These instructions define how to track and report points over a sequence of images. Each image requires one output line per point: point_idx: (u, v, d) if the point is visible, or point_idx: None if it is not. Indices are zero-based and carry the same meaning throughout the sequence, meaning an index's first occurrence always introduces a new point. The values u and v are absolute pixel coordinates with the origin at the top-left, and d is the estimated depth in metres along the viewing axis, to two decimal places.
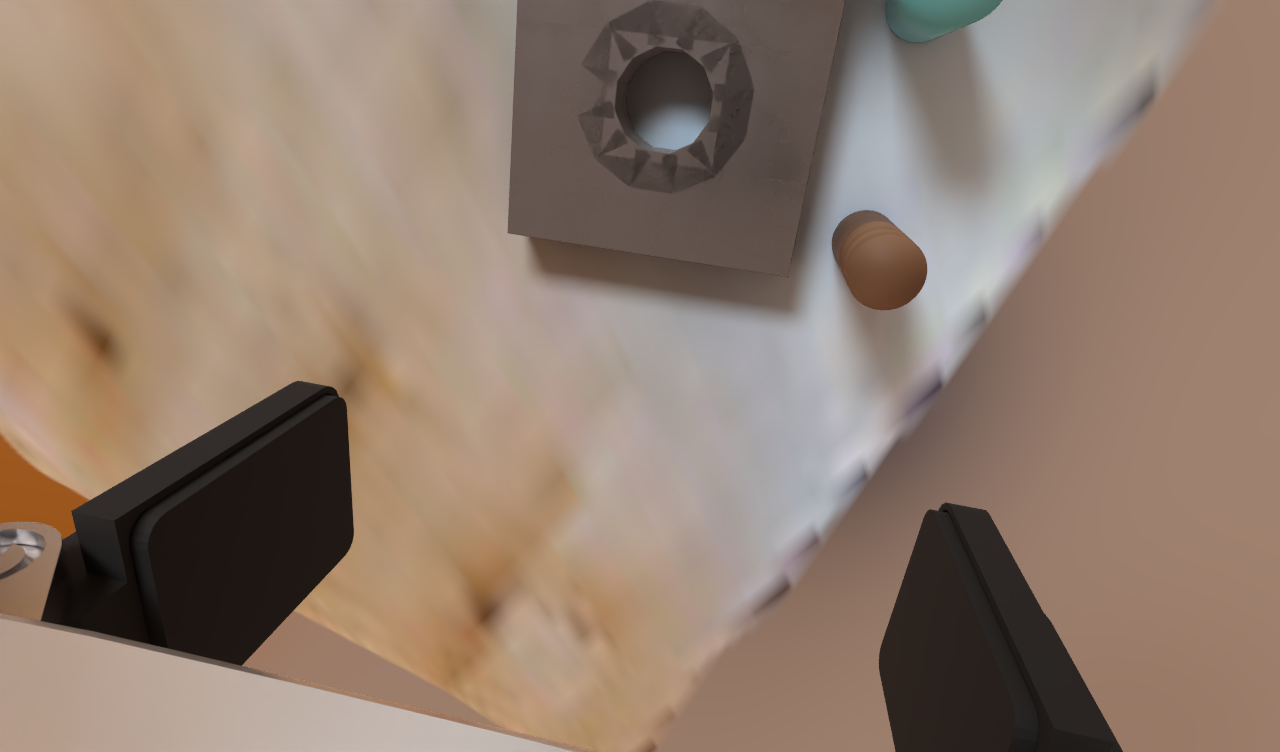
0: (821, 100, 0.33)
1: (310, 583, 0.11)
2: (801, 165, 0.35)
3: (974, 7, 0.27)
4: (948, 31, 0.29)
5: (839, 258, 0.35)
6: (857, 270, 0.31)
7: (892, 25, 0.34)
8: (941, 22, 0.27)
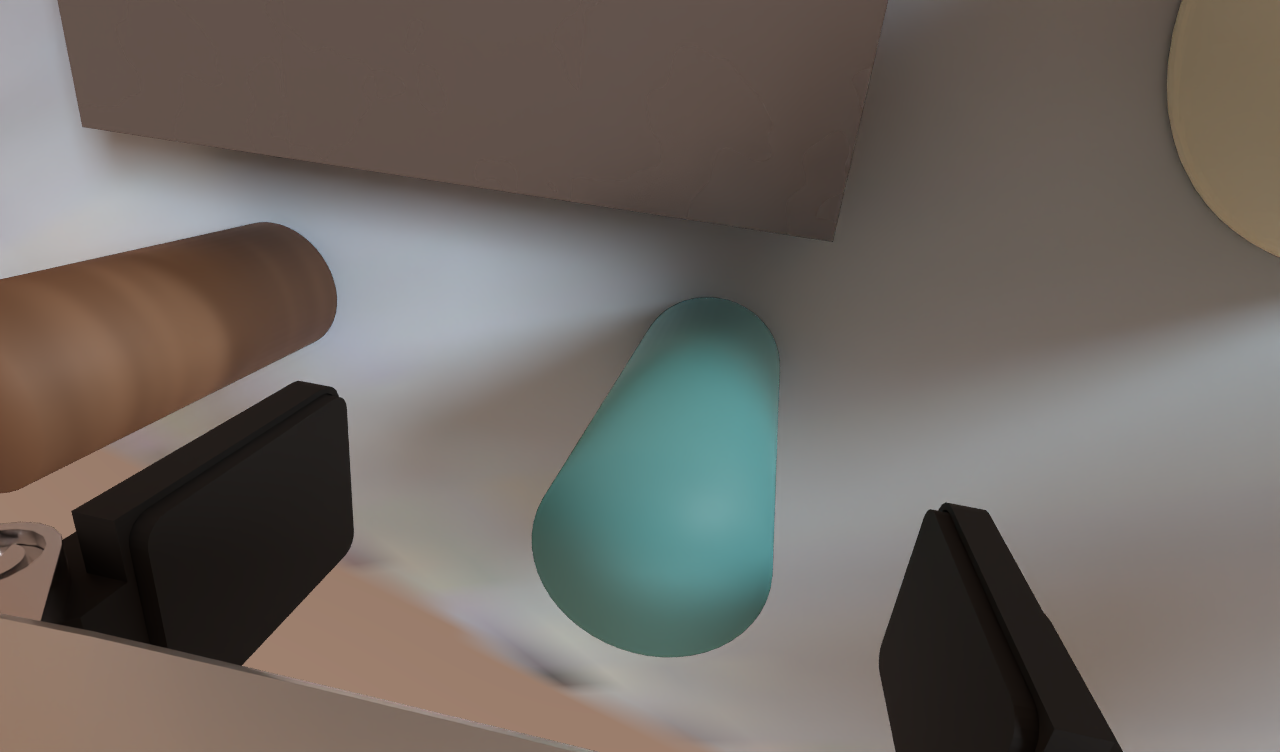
0: (471, 179, 0.13)
1: (310, 583, 0.11)
2: (325, 140, 0.14)
3: (574, 580, 0.10)
4: None
5: (115, 255, 0.14)
6: None
7: (664, 316, 0.16)
8: (540, 506, 0.10)
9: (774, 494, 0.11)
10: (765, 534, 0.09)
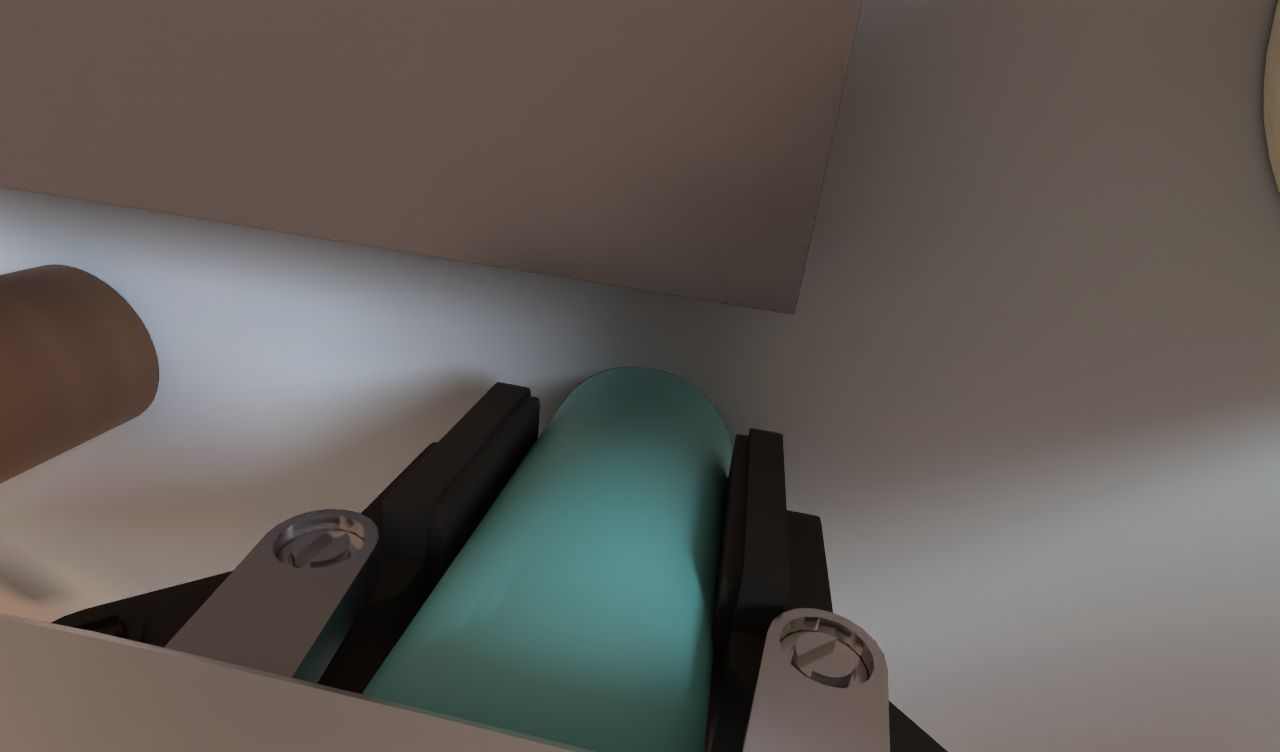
0: (271, 220, 0.09)
1: None
2: (60, 163, 0.09)
3: None
4: None
5: None
6: None
7: (575, 395, 0.12)
8: None
9: (702, 736, 0.07)
10: None
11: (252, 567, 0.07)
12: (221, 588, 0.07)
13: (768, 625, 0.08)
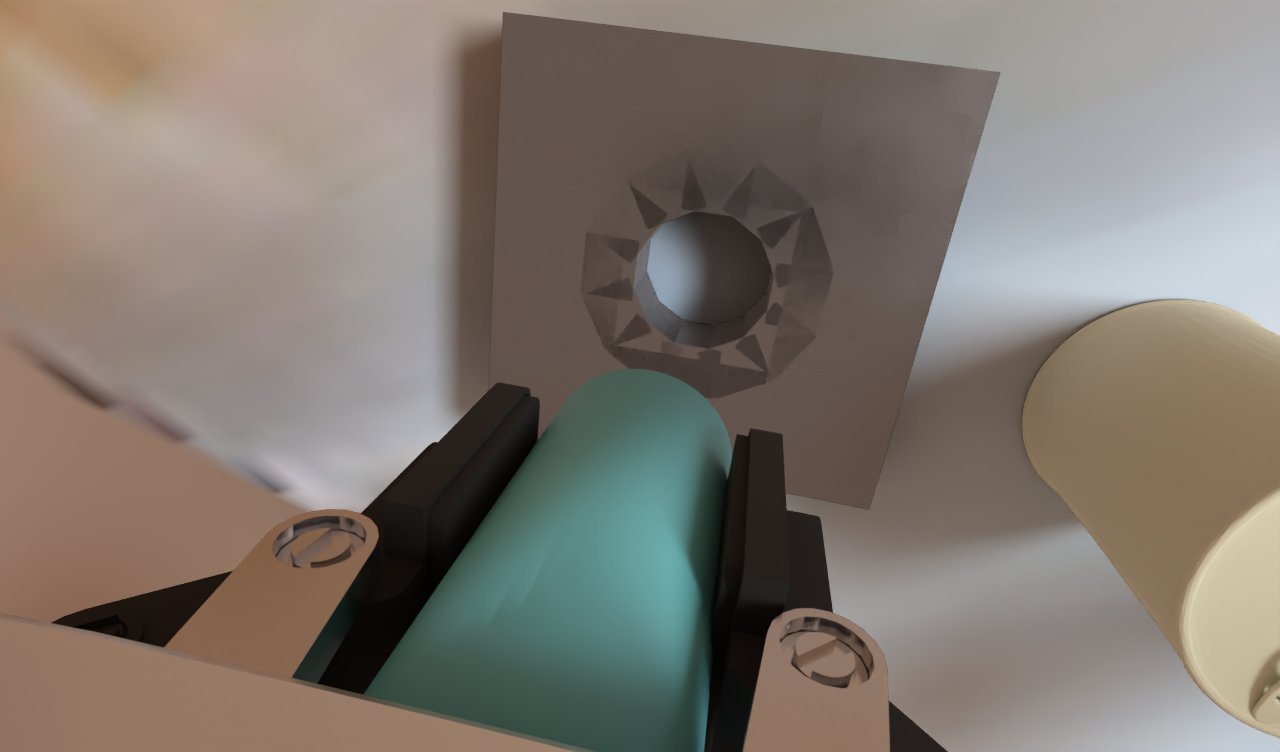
0: None
1: None
2: None
3: None
4: None
5: None
6: None
7: (575, 397, 0.12)
8: None
9: (702, 738, 0.07)
10: None
11: (252, 567, 0.07)
12: (221, 588, 0.07)
13: (768, 625, 0.08)
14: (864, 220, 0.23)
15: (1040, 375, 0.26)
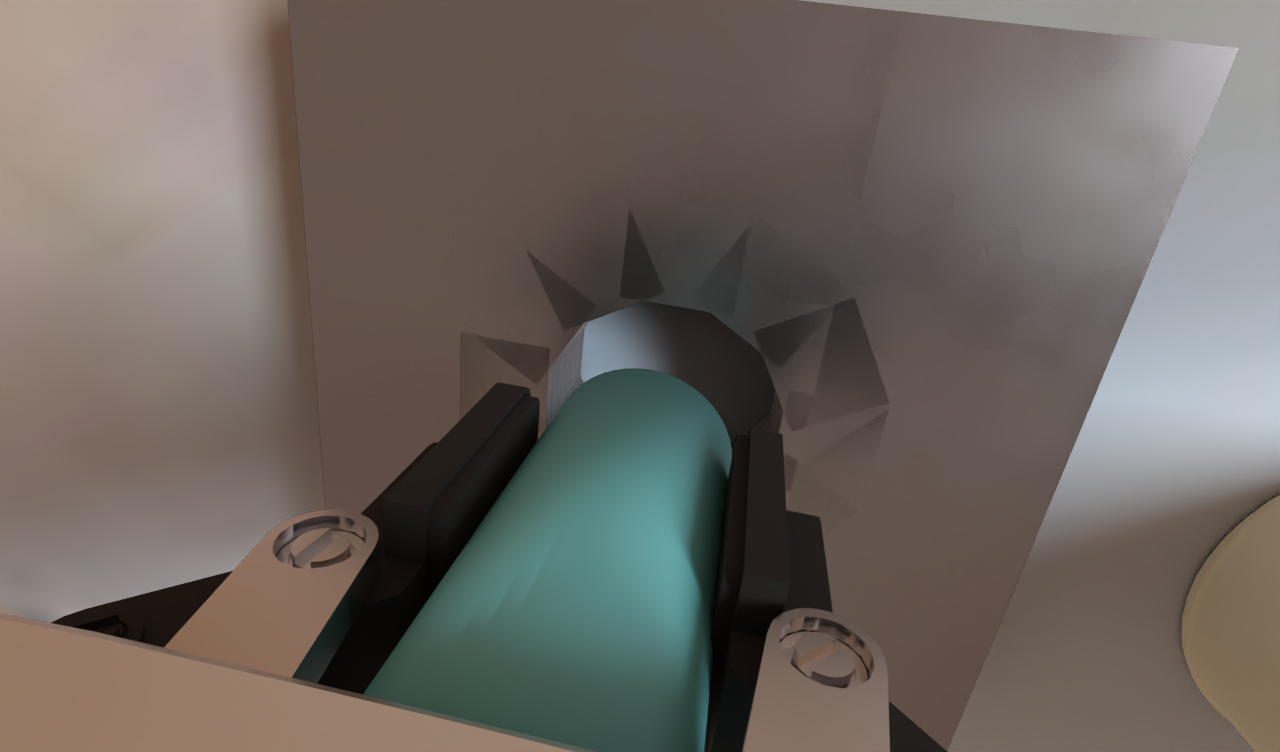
0: None
1: None
2: None
3: None
4: None
5: None
6: None
7: (575, 397, 0.12)
8: None
9: (702, 738, 0.07)
10: None
11: (252, 567, 0.07)
12: (221, 588, 0.07)
13: (768, 625, 0.08)
14: (948, 322, 0.13)
15: (1222, 555, 0.16)
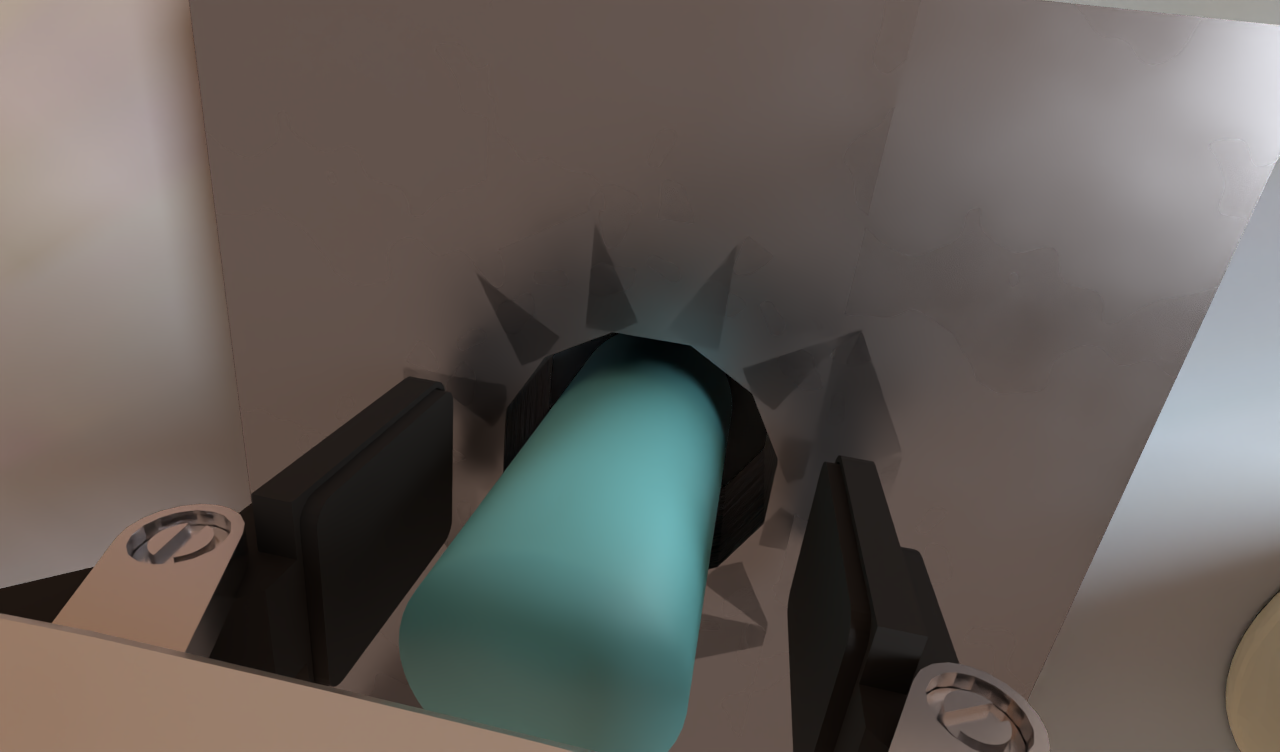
0: None
1: (420, 567, 0.11)
2: None
3: (453, 695, 0.08)
4: None
5: None
6: None
7: (600, 350, 0.14)
8: None
9: (702, 581, 0.09)
10: (677, 651, 0.07)
11: (107, 571, 0.07)
12: (76, 595, 0.06)
13: (899, 679, 0.07)
14: (972, 360, 0.11)
15: (1276, 614, 0.14)
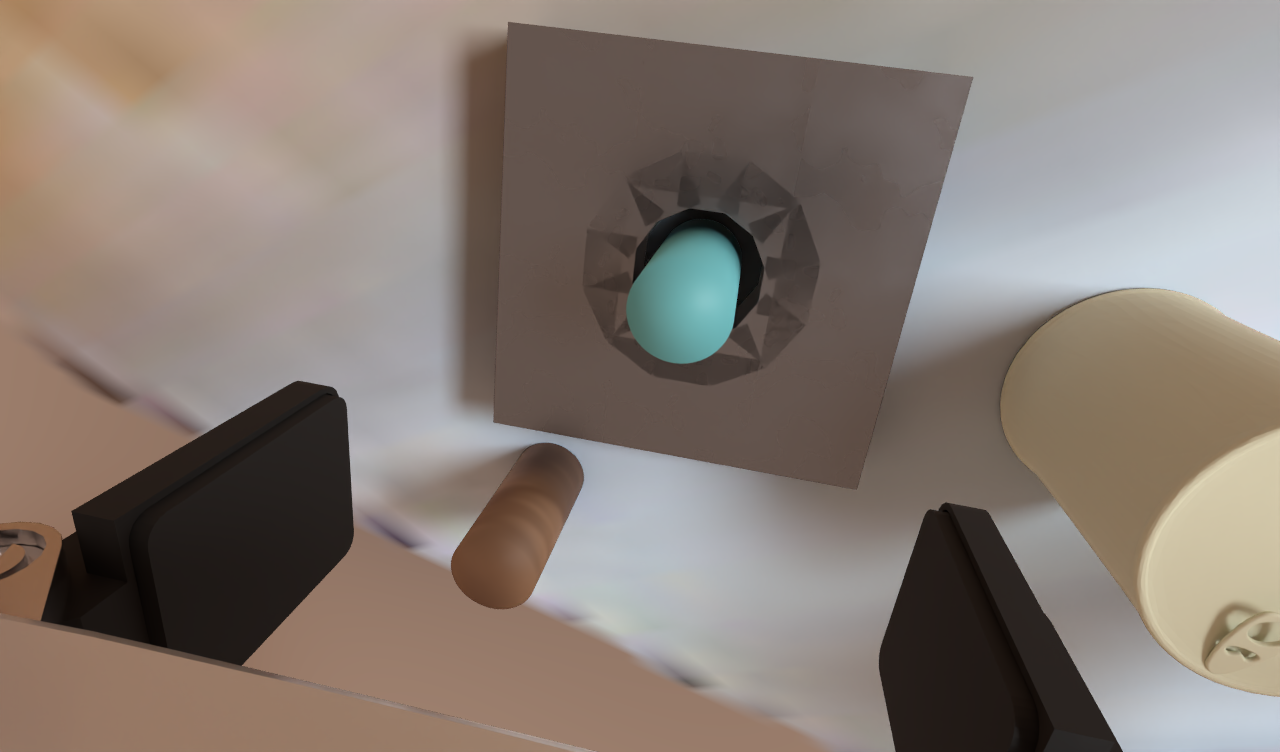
0: (692, 456, 0.29)
1: (310, 583, 0.11)
2: (621, 436, 0.29)
3: (645, 325, 0.22)
4: None
5: (517, 487, 0.30)
6: (492, 546, 0.26)
7: (676, 228, 0.28)
8: (630, 290, 0.22)
9: (736, 293, 0.23)
10: (731, 294, 0.21)
11: None
12: None
13: None
14: (848, 215, 0.24)
15: (1016, 361, 0.28)
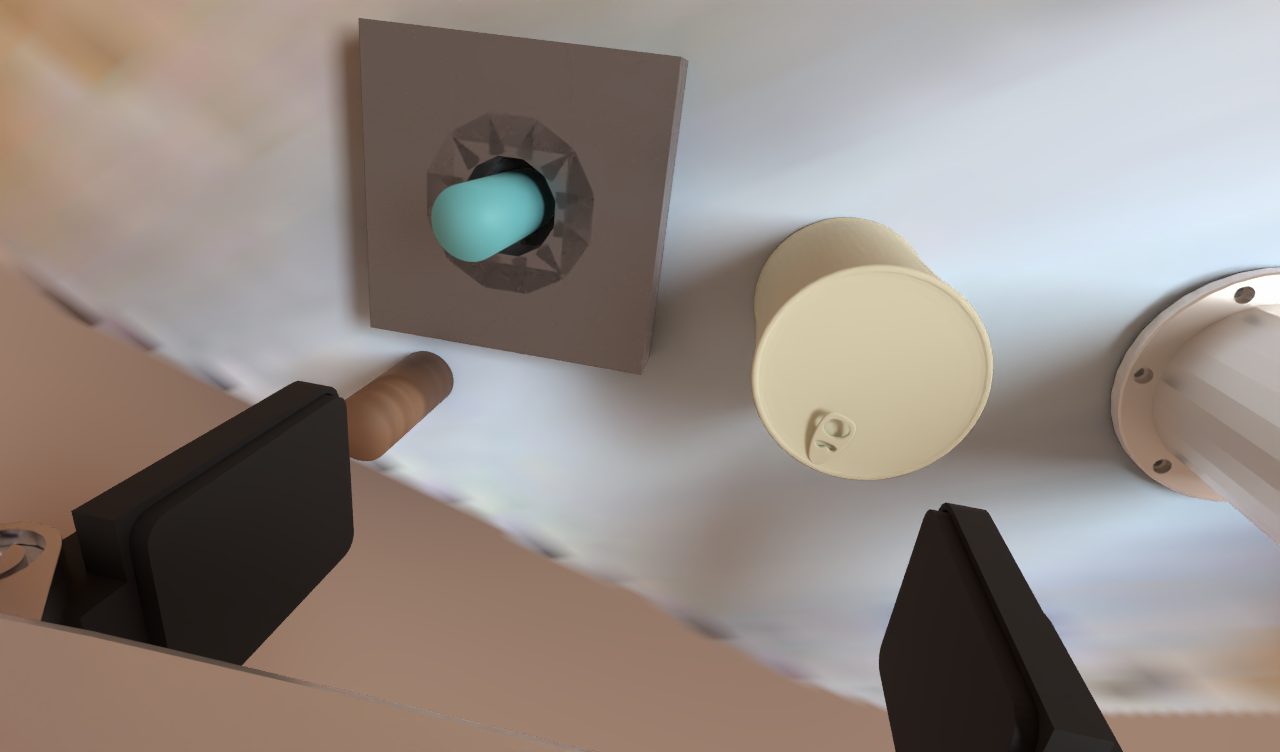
0: (519, 350, 0.38)
1: (310, 583, 0.11)
2: (465, 336, 0.38)
3: (445, 233, 0.31)
4: None
5: (387, 376, 0.39)
6: (356, 409, 0.35)
7: None
8: None
9: (516, 213, 0.32)
10: (500, 209, 0.30)
11: None
12: None
13: None
14: (609, 159, 0.33)
15: (759, 276, 0.37)
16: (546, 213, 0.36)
